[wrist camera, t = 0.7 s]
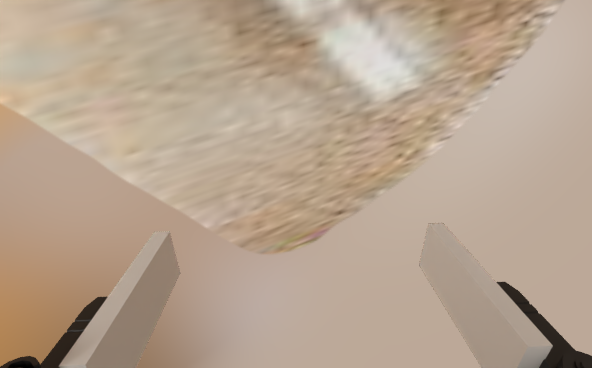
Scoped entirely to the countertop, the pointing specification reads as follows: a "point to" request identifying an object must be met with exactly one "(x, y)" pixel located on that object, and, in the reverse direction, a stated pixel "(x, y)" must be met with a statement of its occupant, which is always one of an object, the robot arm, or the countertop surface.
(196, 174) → the countertop surface
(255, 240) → the countertop surface
